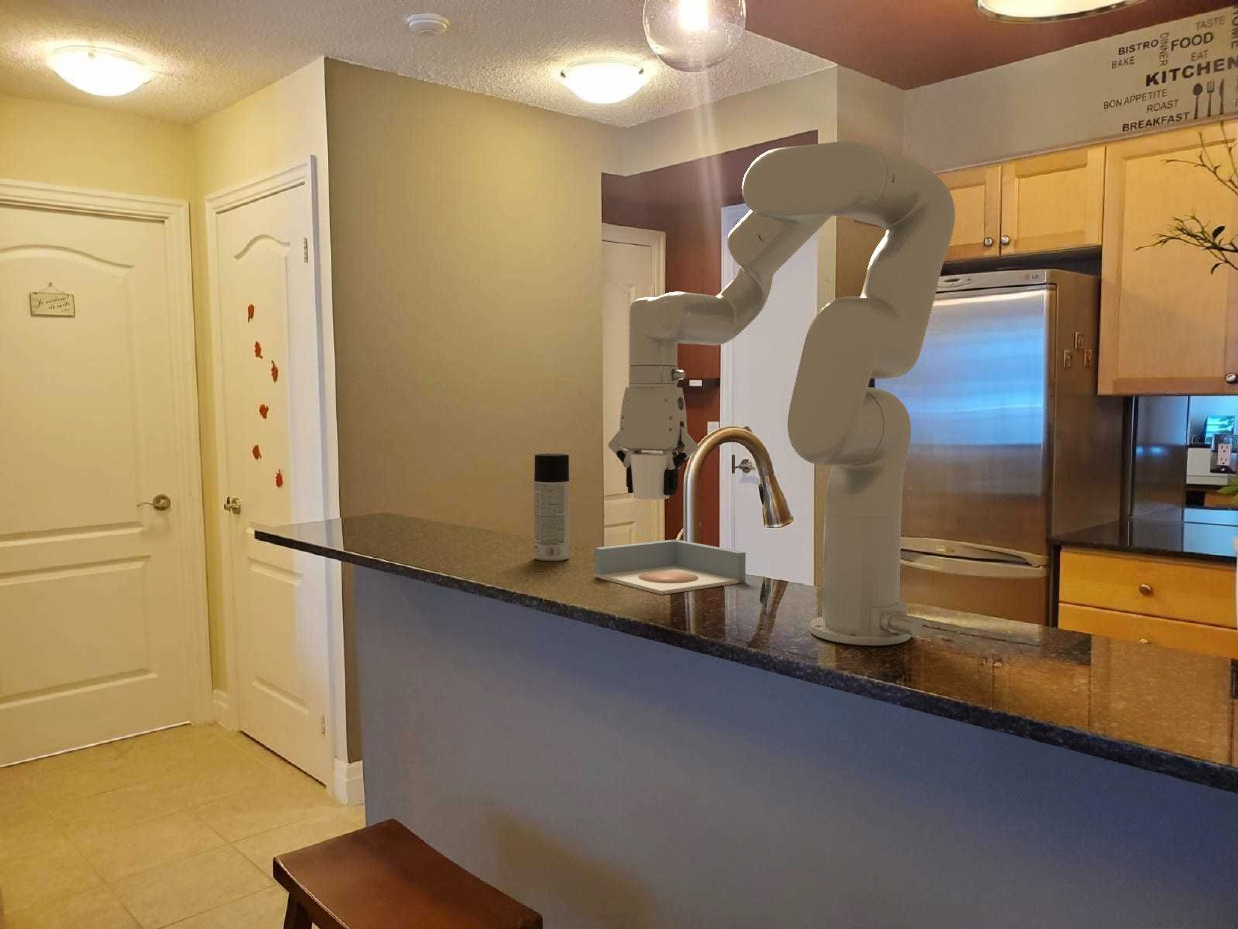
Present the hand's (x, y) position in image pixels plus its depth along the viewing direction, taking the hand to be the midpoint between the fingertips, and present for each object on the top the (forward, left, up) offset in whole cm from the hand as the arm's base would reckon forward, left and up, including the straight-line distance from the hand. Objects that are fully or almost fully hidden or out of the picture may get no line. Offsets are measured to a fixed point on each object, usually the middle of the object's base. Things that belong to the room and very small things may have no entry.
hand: (651, 492), depth 144 cm
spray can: (+34, -3, -16) cm, 38 cm away
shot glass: (0, 0, -1) cm, 1 cm away
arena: (+5, -8, -16) cm, 18 cm away
